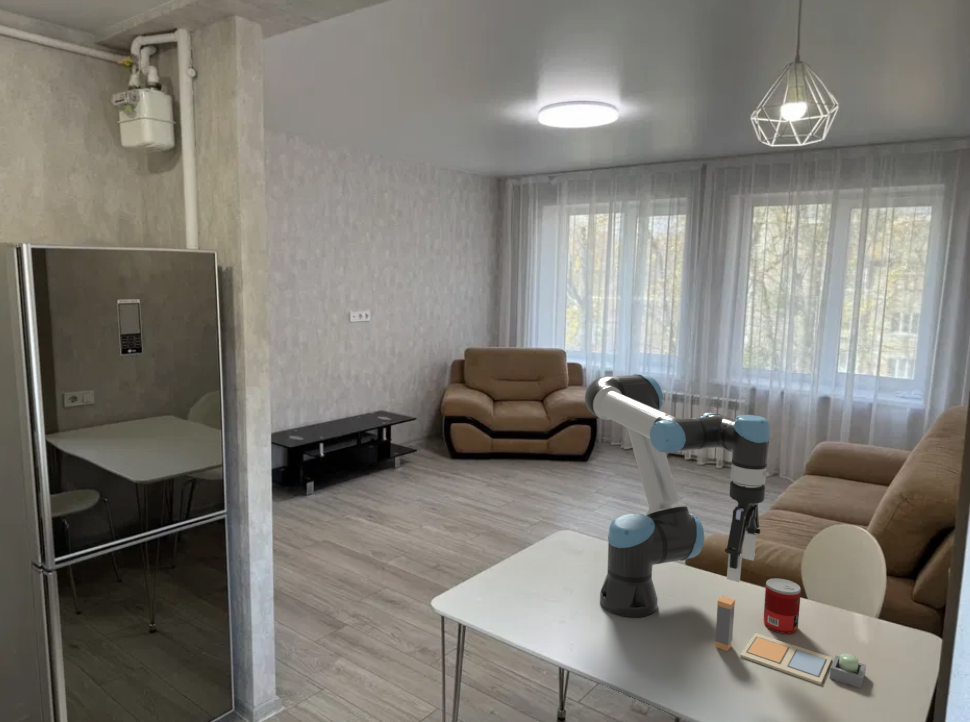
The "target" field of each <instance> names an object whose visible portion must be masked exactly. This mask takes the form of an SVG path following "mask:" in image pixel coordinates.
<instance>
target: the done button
mask: <svg viewBox="0 0 970 722" xmlns="http://www.w3.org/2000/svg"><path fill="white" fill-rule="evenodd" d="M839 656H840V659H839V669H842V670H846V671H849V672H852V673H855V674H857V670H858V663H859V659H858V658H857V656H854V655H853V654H850V653H841V654H839Z"/></svg>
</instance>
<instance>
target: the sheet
mask: <svg viewBox="0 0 970 722" xmlns="http://www.w3.org/2000/svg"><path fill="white" fill-rule="evenodd" d="M750 638H751V639H750V640H749V641H748V643H747V645H746V646H745V647H744V648H743V650H742V652H741V653H740V654H739V655H740V656H739V657H740V658H742V659H745V660H748V661H751V662H754V663H757V664H760V665H762V666H764V667H765V666H766V667H768V668H771V669H774V670H777V671H780V672H782V673H784V674H788V675H791V676H794V677H796V678H800V679H802V680H805V681H808V682H811V683H813V684H817V685H820V686H821V685H822V684H823V681H824V679H825V677H826V674H827V672H828V669H829V668H830V666H831V664H832V663H831V662H833V657H832V656H828V655H826V654H822V653H820V652H815V651H813V650H810V649H807V648H803V647H801V646H798V645H795V644H792V643H788V642H785V641H781V640H778V639H775V638H772V637H769V636H766V635H763V634H761V633H756V632H755V633H754V634H753V635H752V637H750Z"/></svg>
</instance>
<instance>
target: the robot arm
mask: <svg viewBox="0 0 970 722" xmlns="http://www.w3.org/2000/svg"><path fill="white" fill-rule="evenodd" d="M663 399H664V395H663V390H662V388H661V385H660V383H658V381H657V380H656V379H655V378H654V377H653V376H650V375H647V374H632V375H631V374H628V375H627V374H626V375H607V376H602V377H598V378H596V379H595V380H593V381H592V382H591V383H590V384H588V387H587V388H586V391H585V394H584V401H585V405H586V408H587V410H588V411H589V412H590V413H591V415H594V416H595V417H598V418H599V419H601V420H603V421H604V420H605V421H609V420H611V421H613V422H616V423H617V424H619V425H621V426H623V427H625V428H626V429H627V432H628V435H629V439H630V442H631V447H632V451H633V455H634V457H635V461H636V464H637V468H638V472H639V476H640V479H641V484H642V486H643V490H644V494H645V498H646V503H647V506H648V510H647V512H646V513H645V514H641V513H637V514H634V513H628V514H623V515H619V516H618V517H616V518H614V519H613V520H612V521H611V523H610V524H609V529H608V535H607V540H608V541H607V542H608V546H607V547H608V549H607V572H606V576H605V579H604V581H603V584H602V585H601V586H602V587H601V588H600V592H599V603H600V605H601V606H602V607H603V608H604V609H605V610H607V611H608V612H610V613H613V614H614V615H617V616H622V617H626V618H642V617H643V618H644V617H647V616H651V615H652V614H654V613H655V612H656V611H657V609H658V596H657V593H656V588H655V585H654V582H653V579H652V577H653V566H655V565H660V564H666V563H671V562H673V563H674V562H679V561H681V562H682V561H686V560H689V559H692V558H695V557H697V556H698V555H699V554H700V553H701V551H702V550H703V546H704V542H705V531H704V526H703V524H702V521H701V520H700V519H699V518H698V517H697V515H695V514H692V513H690V512H689V509H688V505H687V504H685V503H683V502H682V501H680V498H679V494H678V491H677V487H676V484H675V481H674V477H673V474H672V470H671V466H670V464H669V460H668V457H667V453H670V454H672V453H677V452H686V451H695V450H703V449H704V450H705V449H714V448H719V449H722V450H724V451H728V452H731V453H732V458H731V466H730V467H731V468H730V483H729V496H730V498H731V499H732V500H734V501H736V502H737V505H735V507H734V508H733V510H732V519H731V523H730V524H731V525H730V530H729V535H728V540H727V544H726V545H727V546H726V548H724V552H725V553H726V554H728V558H727V570H726V571H727V572H726V579H727V580H729V581H733V582H736V583H740V581H741V572H742V560H743V559H745V560H749V561H752V562H754V561H755V553H756V544H757V543H756V542H757V534H758V535H760V534H761V529H759V528H760V519H759V518H760V517H759V504H760V503H763V502H764V501H765V493H766V486H765V485H764V484H766V477H768V476H769V475H770V473H769V471H767V467H768V457H769V446H770V445H769V444H770V440H771V436H770V433H771V432H770V422H769V420H768V419H767V418H766V417H763V416H760V415H754V414H739V415H738V416H737V415H736V417H735V418H730V417H727V416H725V415H723V414H721V413H714V412H705V413H703V414H702V415H700V416H699V417H690V418H679V417H676V416H673V415H672V414H668V413H667V412H664V411H662V410H661V409H662V408H663V404H664V401H663Z"/></svg>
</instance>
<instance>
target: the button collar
mask: <svg viewBox="0 0 970 722" xmlns="http://www.w3.org/2000/svg"><path fill="white" fill-rule="evenodd" d="M839 659H840V655H835V656H834V658H833V660H832V663H831V664H830V667H829V668H830V670H829V671H830V672H829V678H830V679H831V680H835V681H837V682H840V683H843V684H846V685H849V686H851V687H855V688H858V689H861V688H862V686H863V683H864V679H865V678H866V667H867V665H866V664H865V663H861V662H858V670H857V674H855V673H852V672H849V671H846V670H842V669H839Z"/></svg>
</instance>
